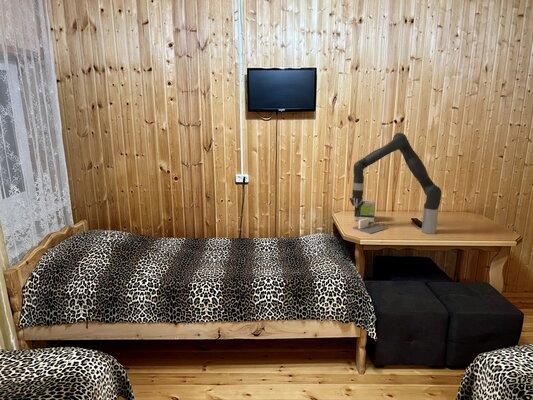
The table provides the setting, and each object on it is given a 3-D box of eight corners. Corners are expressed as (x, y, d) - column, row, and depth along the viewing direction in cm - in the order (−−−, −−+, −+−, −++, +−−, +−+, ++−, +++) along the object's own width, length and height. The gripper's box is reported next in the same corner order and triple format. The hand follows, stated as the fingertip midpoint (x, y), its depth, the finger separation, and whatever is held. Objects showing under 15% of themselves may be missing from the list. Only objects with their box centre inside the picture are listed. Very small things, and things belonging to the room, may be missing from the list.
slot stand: (371, 222, 284) (371, 220, 283) (378, 224, 279) (378, 222, 279) (365, 224, 280) (365, 222, 279) (371, 226, 275) (372, 224, 275)
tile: (366, 217, 276) (358, 220, 271) (368, 218, 274) (360, 220, 269) (365, 225, 277) (357, 228, 272) (368, 226, 276) (359, 228, 271)
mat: (370, 223, 286) (370, 222, 285) (388, 228, 273) (388, 227, 273) (352, 228, 274) (352, 227, 274) (370, 234, 261) (370, 233, 261)
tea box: (373, 218, 297) (375, 200, 293) (374, 222, 287) (375, 203, 284) (354, 217, 300) (355, 199, 297) (353, 221, 291) (354, 202, 287)
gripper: (368, 189, 269) (367, 213, 273) (354, 186, 279) (352, 209, 284) (361, 191, 265) (360, 215, 269) (347, 187, 275) (346, 210, 279)
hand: (356, 212), depth 276 cm, fingers closed
